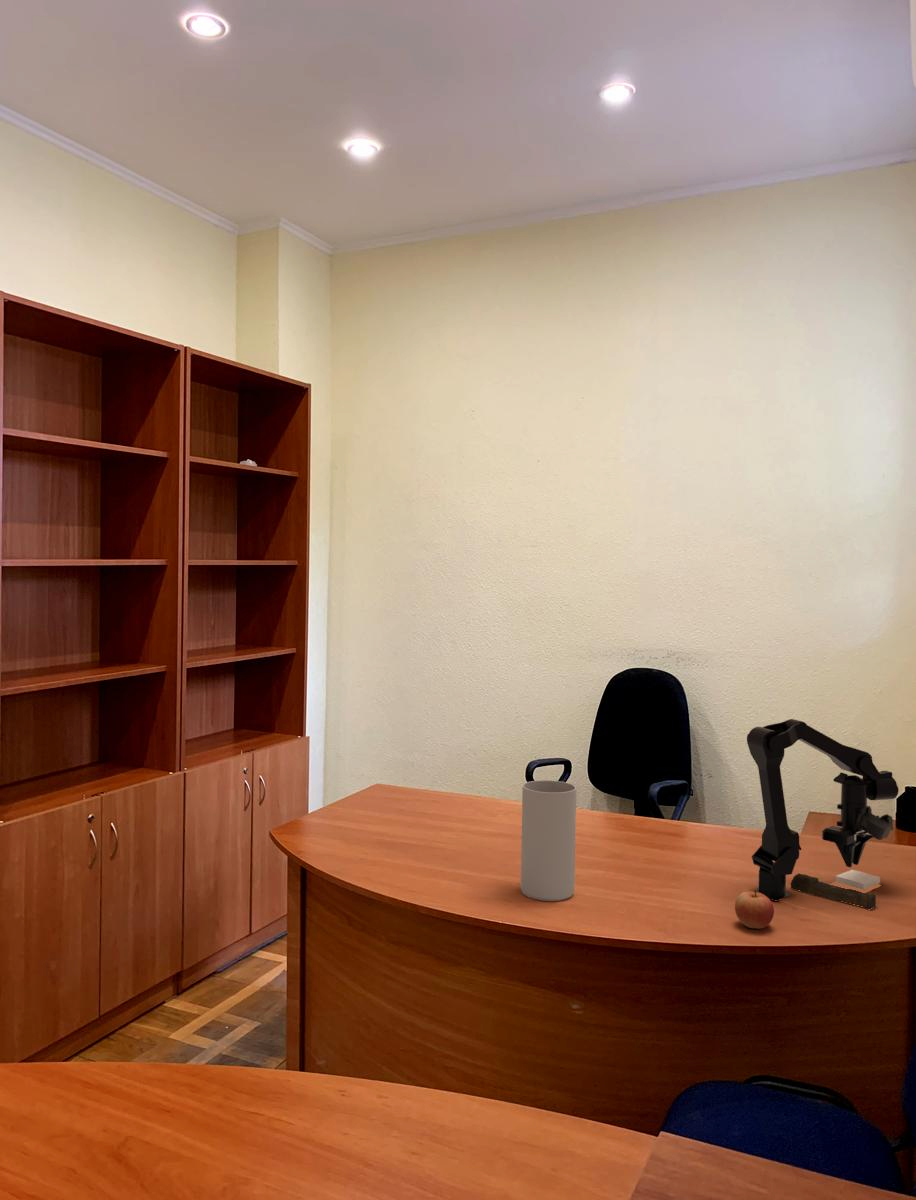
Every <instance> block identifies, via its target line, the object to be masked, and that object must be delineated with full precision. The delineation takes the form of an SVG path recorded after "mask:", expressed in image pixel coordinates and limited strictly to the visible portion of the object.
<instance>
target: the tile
mask: <svg viewBox="0 0 916 1200" xmlns="http://www.w3.org/2000/svg"><path fill="white" fill-rule="evenodd" d="M835 880H836V882H838V883H842V884H845V885H849V886H852V887H856V888H860V889H863V890H865V889H866V888H869V887H871V886H873V885H876V884H878V883H880V884H881V877H880V876H877V875H873V874H870V873H867V872H863V871H859V870H856V869H850V870H847V871H845V872H842V873H840V874H837V875H835Z"/></svg>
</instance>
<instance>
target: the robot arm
mask: <svg viewBox="0 0 916 1200" xmlns="http://www.w3.org/2000/svg"><path fill="white" fill-rule="evenodd" d="M797 741H800V742H802V743H804V744H805V745H807V746H809V747H811V748H812V749H815V750H817V751H819V752H821V753H822V754H823V755H826V756H827V757H829V759H830V760H831V762H832V763H834V764H835V765H836V766H837V767H838V768H839V769H840V770H843V771H846V772H849V773H852V774H853V775H852V774H851V775H848V774H847V773H844V772H842V771H841V772H840V773H839V774H838V775H837V776H835V777H834V778H833V782H835V783H838V784H840V785H841V788H840V789H841V791H840V792H841V793H840V803H838V804H837V805H836V806H837V807H836V809H837V810H840V819H839V820H836V826H835V825H832V826H829V827H826V828H824V829H823V830H822V831H821V839H822V841H826V842H831V843H835V846H836V847H837V850H838V851H839V853H840V855H841V858H842V860H843V862H844V863H845V866H846V867H847V868H852V866H853V865H855V866H858V865H859V863H860V860H861V857H862V855H863V852H864V849H865V846H866V844H867V843H868V842H869V841H871V840H872V839H874V838H875V839H876V840H879V841H883V839H885V838H886V839H887V838H888V837H889V835H890V833H891V831H893V830H894V829H895V828H894V823H893V822H894V821H893V817H892V816H891V815H889V814H887V813H886V814H884V815H881V816H880V815H875V814H873V813H872V811H873V810H872V807H871V806H870V805H868V800H870V801H883V800H884V801H886V800H894V799H896V798H897V797H898V795H899V786H898V783H897V781H896V779H895V778H894V777H893V772H892V771H889V770H881V771H879V769H877V767H876V765H875V764H874V762H873V756H872V755H871V754H870V753H869V752H867V751H865V750H861V749H858V748H855V747H851V746H848V745H845V744H842V743H841V742H838V741H837V740H836V739H833V738H831V737H829V736H828V735H826V734H825V733H823V732H820V731H819V730H817V729H815V728H813V727H812V726H810V725H808V724H807V723H806V722H805V721H801V720H797V719H794V718H790V719H786V720H784V721H782V722H778V723H777V722H776V723H773V724H768V725H764V726H762V727H761V726H756V727H753V728H752V729H751V730H749V733H747V735H746V744H747V747H748V749H749V753H750V755H751V757H752V759H753V761H754V762H755V764H756V765H757V770H758V776H759V783H760V784H759V785H760V789H761V790H760V791H761V796H762V797H761V798H762V805H763V811H764V820H765V827H764V830H763V832H762V834H761V845H760V846H759V847H758V848H757V850H755V852H754V853H753V854H752V855H751V859H752V863H753V865H755V866H757V867H759V869H758V888H757V891H756V892H758V893H761V894H763V895H765V896H767V897H768V898H769V899H773V900H779V899H781V900H782V899H784V898H786V897H790V896H791V895H792V894H791V893H789V892H786V889H787V888H786V885H787V884H786V881H787V876H788V875H792V874H793V872H794V868H795V867H796V864H797V860H798V859H800V851H802V847H801V844H800V834H799V832H798V831H795V830H793V829H791V828H790V826H789V824H788V816H787V815H788V814H787V810H786V802H785V801H786V800H785V793H784V787H783V779H782V772H781V765H782V762H783V759H784V757H785V749H787V748H790V747H791V746H793V745H795V743H797ZM860 776H861V777H860ZM752 892H755V891H754V890H753V891H752ZM773 900H772V901H773Z"/></svg>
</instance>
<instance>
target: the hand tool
mask: <svg viewBox="0 0 916 1200" xmlns="http://www.w3.org/2000/svg"><path fill="white" fill-rule="evenodd" d="M790 881H791V882H790V888H791V889H792V888H793V889H792V890H795V889H796V890H795V891H797V890H800V891H802V892H801V893H804V892H806V893H805V894H807V893H809V894H808V895H810V894H814V895H813V896H816V895H818V896H817V897H820V896H823V897H826V898H825V899H827V898H830V899H835V900H838V901H837V902H839V901H843V902H847V903H851V904H855V905H859V906H863V907H866V908H868V909H871V908H873V907H874V908H875V907H876V903H877V896H876V895H875V893H873V892H872V893H862V892H859V891H856V890H852V889H845V888H841V887H838V886H834V885H830V884H828V883H827V882H823V881H820V880H819V877H816V876H810V875H807V874H804V873H803V874H801V873H797V874H795V875H794V876H793V877H792V880H790ZM800 891H799V892H800ZM823 897H822V898H823ZM830 899H829V900H830ZM835 900H834V901H835ZM843 902H842V903H843ZM866 908H865V909H866ZM874 908H873V909H874ZM868 909H867V910H868Z"/></svg>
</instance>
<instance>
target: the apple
mask: <svg viewBox="0 0 916 1200" xmlns="http://www.w3.org/2000/svg"><path fill="white" fill-rule="evenodd" d="M757 890H758V888H754V890H753V891H755V892H753V891H743V892H742V893H740V894H739V895H738V896H737V898H736V900H735V902H734V911H735V914H736V917H737V919H738V921H740V923H741V924H742V925H744V926H746V927H747V928H749V929H755V928H756V929H757V930H758V929H764V928H766V927H767V926H769V924H770V923H771V922H772V921H773V918H774V915H775V907H774V904H773V902H772V900H770V899H769V898H768V897H767V896H765V895H763V894H761V893H758V892H756V891H757Z"/></svg>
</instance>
